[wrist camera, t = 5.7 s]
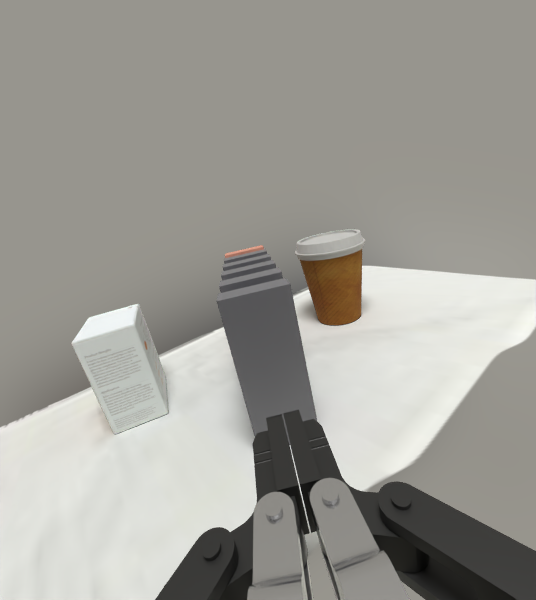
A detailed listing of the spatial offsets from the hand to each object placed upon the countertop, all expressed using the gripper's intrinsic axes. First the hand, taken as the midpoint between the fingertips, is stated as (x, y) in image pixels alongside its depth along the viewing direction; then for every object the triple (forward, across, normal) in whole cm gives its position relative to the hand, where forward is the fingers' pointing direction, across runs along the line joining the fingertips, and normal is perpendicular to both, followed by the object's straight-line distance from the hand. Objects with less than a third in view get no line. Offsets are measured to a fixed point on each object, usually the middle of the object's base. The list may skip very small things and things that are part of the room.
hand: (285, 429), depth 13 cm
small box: (+20, +15, +9) cm, 26 cm away
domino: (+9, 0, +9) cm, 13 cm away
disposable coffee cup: (+30, -12, +9) cm, 33 cm away
